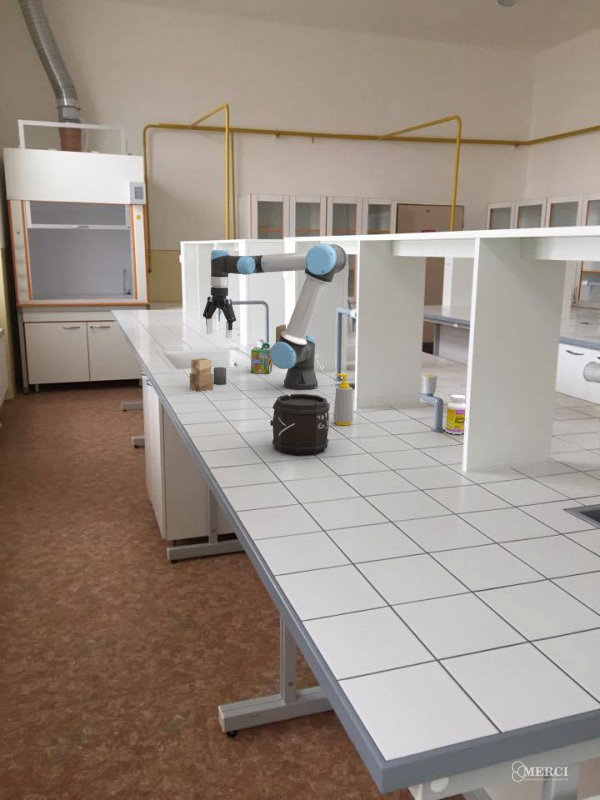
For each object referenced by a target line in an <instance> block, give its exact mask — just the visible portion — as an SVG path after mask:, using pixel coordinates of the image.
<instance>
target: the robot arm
mask: <svg viewBox="0 0 600 800" xmlns="http://www.w3.org/2000/svg"><path fill="white" fill-rule="evenodd" d="M347 263H348V255H347V252H346V250H345V249H344V248H343V247H341V246H340V245H338V244H328V243H327V244H326V243H319V244H316V245H313V246H312V247H311V248H310V249H309V250H308V251H301V252H289V253H287V252H285V253H275V254H264V255H263V254H261V255H230V253H229V250H224V249H223V250H222V249H216V250H215V249H213V250H212V251H211V255H210V267H211V268H210V296H207V299H206V304H205V307H204V310H203V314H202V317H204V318H205V325H206V335H212V334H213V316H214V314H215V313H216V311H217V309H220V310H221V311H222V314H223V315H224V318H225V320H226V322H225V338H227V339H229V338H232V337H233V335H232V334H233V324H234V322H237V318H236V315H235V310H234V307H233V303H232V302H233V301H232V299H231V298H227V297H228V296H229V288H228V287H229V274H235V275H243V276H244V275H245V276H247V275H252V274H263V273H279V272H292V271H293V272H295V271H296V272H297V271H304V275H305V280H304V282H303V285H302V288H301V291H300V293H299V296H298V298H297V301H296V303H295V305H294V308H293V311H292V314H291V317H290V319H289V322H288V324H287V325H288V326H287V329H286V331H283V332H281V335H280V337H279V340H278V342H277V343H276V342H275V343H274V344H273V345H272V346H271V347H270V348H271V350H270V357H271V360H272V364H273V365H274V366H275V367H276V368H278V369H281V370H287V371H286V374H285V377H284V380H283V387H284V388H285V389H288V390H297V389H299V390H302V389H308V390H312V389H311V388H315V387H317V386H318V384H319V383H318V382H319V381H318V379H317V374H315V373H316V372H315V371H316V370H315V364H314V363H315V361H316V358H315V357H316V337H314V336H312V335H307V334H308V332H309V329H310V327H311V323H312V322H313V320H314V316H315V315H316V311H317V310H318V307H319V304H320V302H321V299H322V297H323V294H324V292H325V288H326V286H327V285H329V284H331V283H332V282H333V279H334V277H335V275H336V274H337V273H340V272H341V271H343V270H344V269H345V268H346V265H347ZM317 388H318V387H317ZM315 389H316V388H315Z"/></svg>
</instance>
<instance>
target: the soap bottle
mask: <svg viewBox="0 0 600 800" xmlns="http://www.w3.org/2000/svg"><path fill="white" fill-rule="evenodd" d="M349 375H350V373H334V376H337V377H342V379H343V381H341V382H340V384H339V386H336V387H335V397H334V399H335V400H334V405H333V406H334V408H333V421H334V424H336V425H337V426H349V425H350V426H351V424H352V422H353V420H354V419H353V418H354V417H353V416H354V415H353V413H354V411H353V407H354V404H353V399H354V398H353V395H354V394H353V392H354V391H353V386H350V384H348V383H349V382H348V381H347V379H348V376H349Z"/></svg>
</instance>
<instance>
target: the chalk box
mask: <svg viewBox="0 0 600 800" xmlns="http://www.w3.org/2000/svg"><path fill="white" fill-rule="evenodd" d="M265 343H266V342H265V341H264V342H263V343H262V345H261V347H259V346H258V347H254V348H252V349H251V353H250V356H251V361H250V363H251V364H250V373H251V374H260V375H270V373H271V372H272V371H273V362H272V360H271V357H270V350H271V348H272V347H265Z"/></svg>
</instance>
